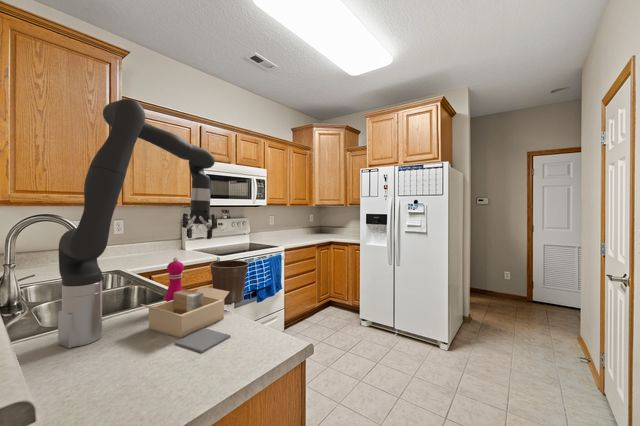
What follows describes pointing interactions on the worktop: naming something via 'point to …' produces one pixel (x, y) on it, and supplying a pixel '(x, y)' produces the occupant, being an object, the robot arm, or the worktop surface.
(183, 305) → the block
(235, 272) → the plant pot
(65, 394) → the worktop surface
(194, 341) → the plate
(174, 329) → the carton
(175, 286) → the pepper mill
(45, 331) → the worktop surface
